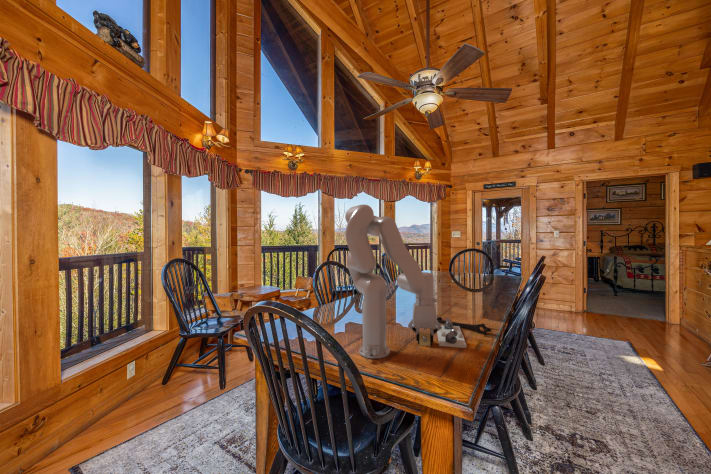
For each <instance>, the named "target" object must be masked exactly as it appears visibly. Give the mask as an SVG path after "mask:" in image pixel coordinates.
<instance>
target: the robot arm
mask: <svg viewBox="0 0 711 474" xmlns="http://www.w3.org/2000/svg"><path fill="white" fill-rule="evenodd" d="M344 218H345V222H346V223H347V225H346V229H345V240H346V244H347V247H348V250H349V253H348V254H347V257H346V266H347V268H348V271H349V274H350V276H351V280H352V282H353V285H354V287H355V288H356V290H357V292H359V293H360V294H362V295H363V301H362V306H361V307H362V308H361V313H362V315H361V316H362V317H361V318H362V322H361V323H362V346H360V347H359V349H358V352H359V353H358V354H359V355H360V356H361V357H363V358H367V359H372V360H376V359H377V360H378V359H384V358H386V357H389V355H391V349H390V348H389V346H387V311H386V310H387V298H388V291H389V289H388V287H389V286H388V283H387V281H386V280H385V278H383V277H382V276H380V275H379V274H375V273H373V272H374V271H375V269H376V267H377V259H376V257H375V254H374V251H373V249H372V247H371V244H370V240H369V236H370V235H371V236H373V237H378V238H379V240H380V243H381V245H382V248H383V250H384V252H385V254H386V255H385V256H386V257H387V258H388V259H389V260H390V261H391V262H393V263H394V264H395V265H396V266H397V267H398V268H399V269H400V270H401V272H402V273H400V274H399V275H398V276H397V277H396V284H397V286H398V287H399V288H400V290H403V291H406V292H409V293H411V294H414V295H415V302H414V304H413V308H412V319H411V320H410V321H409V322H408V324H407V327H408V328H409V329H411V331H413V332H414V333H415V337H416V339H415V341H417V344H418V345H419V329H429V330H430V346H431V345H433V343H434V335H435V334H436V333H437V331H439V330H440V329H442V326H441V325H442V324H441V323H439V322H438V321H437V318H438V317H437V316H438V315H437V307H436V304H435V303H438V299H437V298H434V274H433V273H432V272H424V271H422V269H421V266H420V264H419V263H418V262H417V260H416V259H415V258H414V257H413V255H412V253H410V252H409V250H408V249H407V247H406V245H405V242H404V240H403V238H402V235H401V232H400V231H399V228H398V225H397V223H396V221H395V220H394V219H393V217H390V216H377V215H374V210H373V208H372V207H371V206H370V205H368V204H358V205H353V206H351V207H349V208H348V209H347V210H346V212H345V214H344ZM368 234H369V236H368ZM437 326H438V327H437ZM436 327H437V328H436Z"/></svg>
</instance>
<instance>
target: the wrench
mask: <svg viewBox="0 0 711 474" xmlns="http://www.w3.org/2000/svg"><path fill="white" fill-rule="evenodd" d="M437 321H438V322H439V324H440V325H444V323H446V321H445V320H443V317H441V316H438V317H437ZM451 322H452V324H453V326H459V327H460V329H464V330H469V331H475V332H476V333H478V334H480V335H485V334H486V333H490V332H492V329H491V328H490V327H487V326H486V324H484V323H478V324H472V323H471V324H470V323H464V322H455V321H451ZM481 328H482V329H483V330H481Z"/></svg>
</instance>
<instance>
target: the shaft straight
mask: <svg viewBox="0 0 711 474" xmlns="http://www.w3.org/2000/svg"><path fill="white" fill-rule="evenodd" d="M444 321H446V323H444V324H443V326H444V329H453V324H452V322H453V321H451V319H450V318H449V317H446V318H445V320H444Z"/></svg>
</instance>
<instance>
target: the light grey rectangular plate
mask: <svg viewBox="0 0 711 474" xmlns="http://www.w3.org/2000/svg"><path fill="white" fill-rule="evenodd" d="M440 325H441V326H442V329H440V330H439V331H437V332H436V333H437V339H438V346H439V347H446V348H447V347H451V348H461V349H462V348H463V349H464V348H465V349H467V342H466V340H465V337H464V335H463V332H462V330H461V328H460V327H459V326H453V329H455V330H456V331H457V332H458V335H457V336H456V338H457V342H456V343H455V344H452V343H449V342H445V337H446V334H448V333H449V332H450V331H451V330H452V329H444V324H440ZM437 327H438V326H437ZM437 327H436V328H437Z"/></svg>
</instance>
